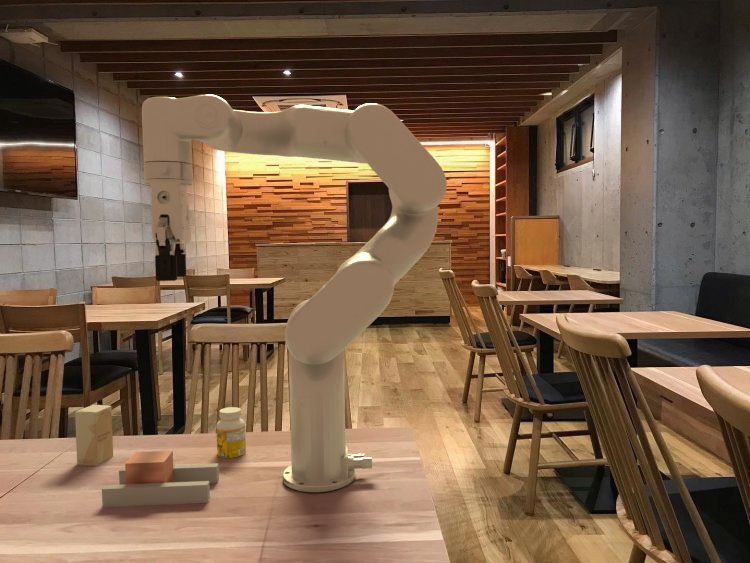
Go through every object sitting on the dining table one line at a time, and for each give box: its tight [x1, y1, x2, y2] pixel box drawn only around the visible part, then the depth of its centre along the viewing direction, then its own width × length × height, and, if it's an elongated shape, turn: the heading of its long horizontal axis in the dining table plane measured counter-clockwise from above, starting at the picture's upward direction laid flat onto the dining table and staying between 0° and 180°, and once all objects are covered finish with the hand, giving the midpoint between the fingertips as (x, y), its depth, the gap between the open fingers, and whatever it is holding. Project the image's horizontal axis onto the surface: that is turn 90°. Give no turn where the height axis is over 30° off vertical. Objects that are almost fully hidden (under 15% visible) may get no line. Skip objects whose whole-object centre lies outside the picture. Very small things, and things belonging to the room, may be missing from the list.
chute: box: [101, 463, 220, 508], centre depth 96 cm, size 24×12×4 cm, turn 94°
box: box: [74, 404, 114, 467], centre depth 111 cm, size 5×4×11 cm
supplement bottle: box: [215, 406, 247, 459], centre depth 113 cm, size 5×5×10 cm
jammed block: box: [124, 450, 174, 484], centre depth 96 cm, size 6×5×6 cm
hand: (171, 278), depth 99 cm, fingers open, 9 cm apart
